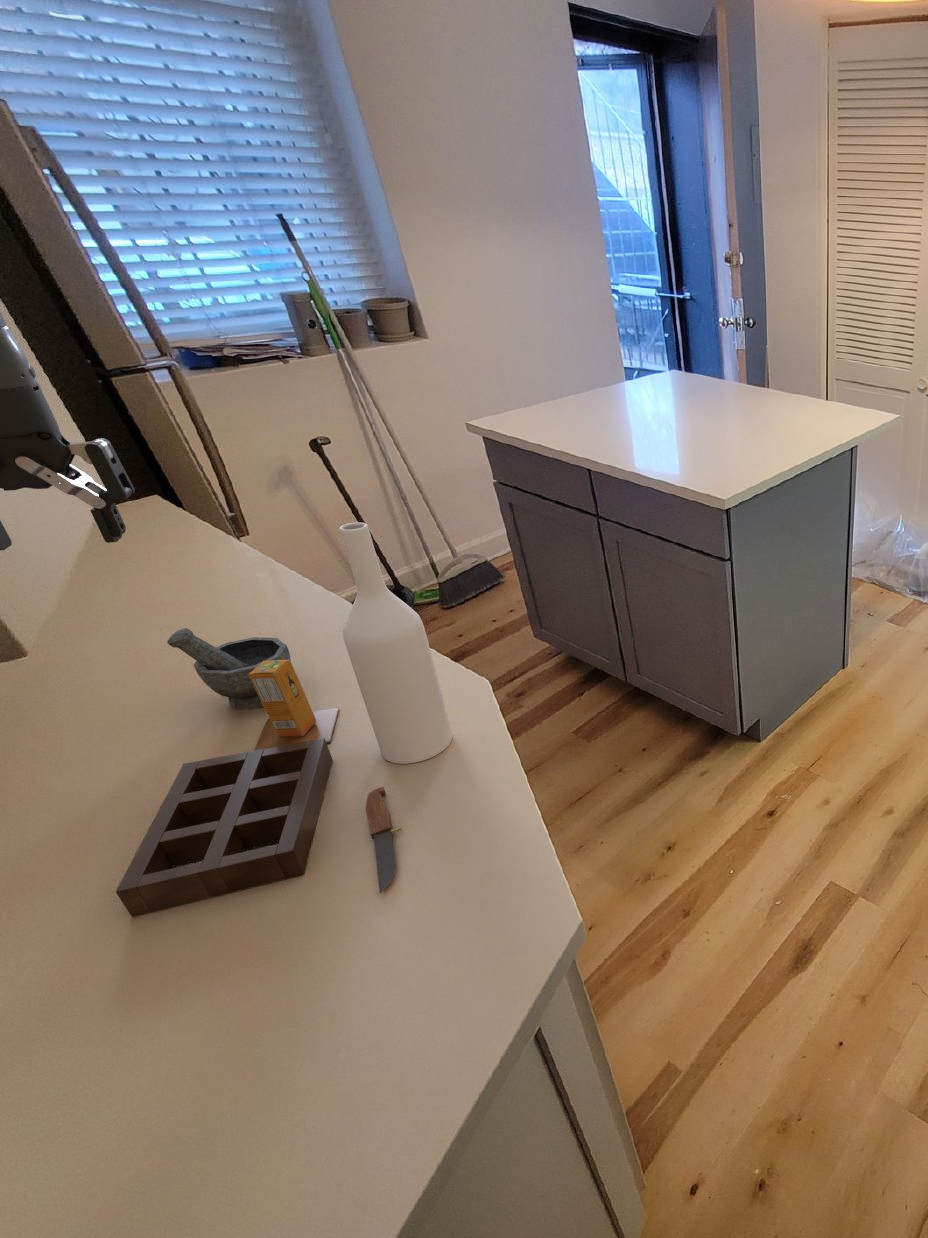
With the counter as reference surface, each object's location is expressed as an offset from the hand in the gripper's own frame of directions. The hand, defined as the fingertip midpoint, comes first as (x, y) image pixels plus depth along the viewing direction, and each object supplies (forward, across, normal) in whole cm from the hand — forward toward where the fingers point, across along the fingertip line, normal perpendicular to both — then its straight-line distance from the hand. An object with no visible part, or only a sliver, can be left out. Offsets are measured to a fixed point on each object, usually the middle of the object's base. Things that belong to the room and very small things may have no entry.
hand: (60, 544), depth 71 cm
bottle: (+28, +27, -8) cm, 40 cm away
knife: (+28, +25, -25) cm, 45 cm away
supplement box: (+28, +13, 0) cm, 31 cm away
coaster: (+28, +13, 0) cm, 31 cm away
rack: (+28, +11, -18) cm, 35 cm away
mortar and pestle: (+28, +6, +11) cm, 31 cm away
